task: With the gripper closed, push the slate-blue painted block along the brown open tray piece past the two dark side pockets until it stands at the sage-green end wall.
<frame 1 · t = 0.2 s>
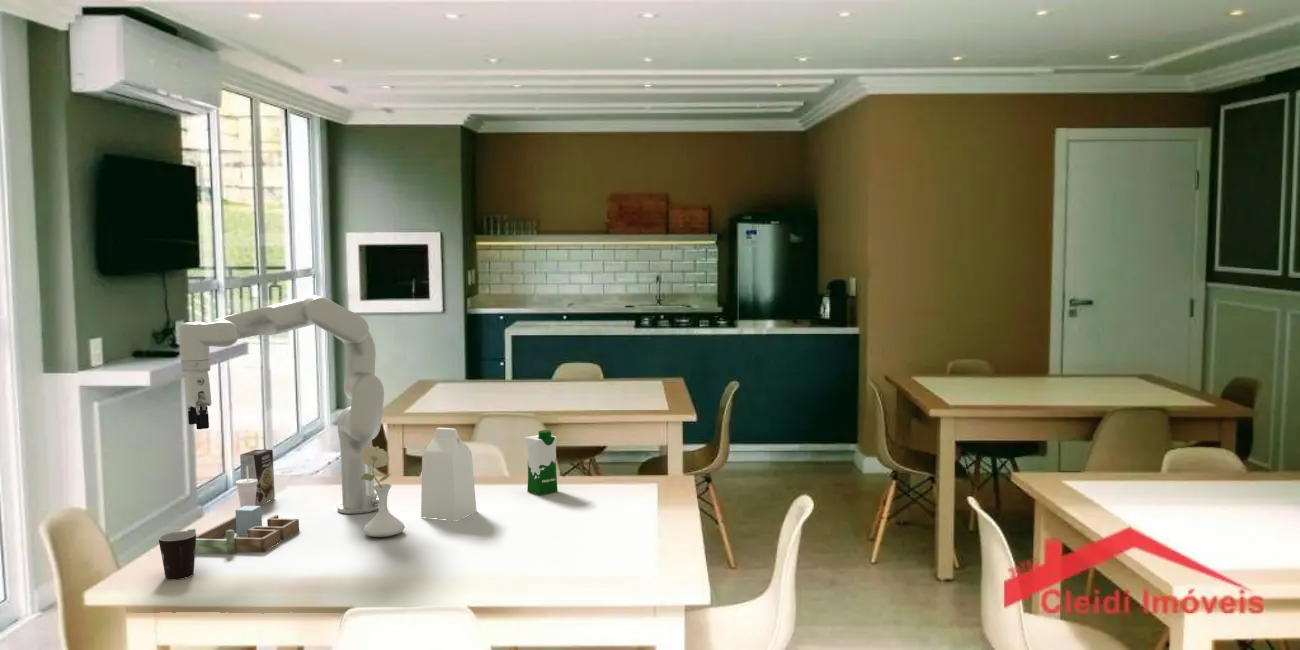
hand: (198, 426, 302), 31 cm above the table, tool pointing down, fingers open, 9 cm apart
brown open tray piece: (236, 539, 297), on the table
milk carton: (542, 492, 346), on the table
block: (249, 532, 304), on the table
coffee mug: (177, 578, 264), on the table
smoothie: (248, 512, 326), on the table
milk: (449, 515, 319), on the table
flower in vase: (381, 535, 299), on the table
coffee box: (258, 502, 339), on the table
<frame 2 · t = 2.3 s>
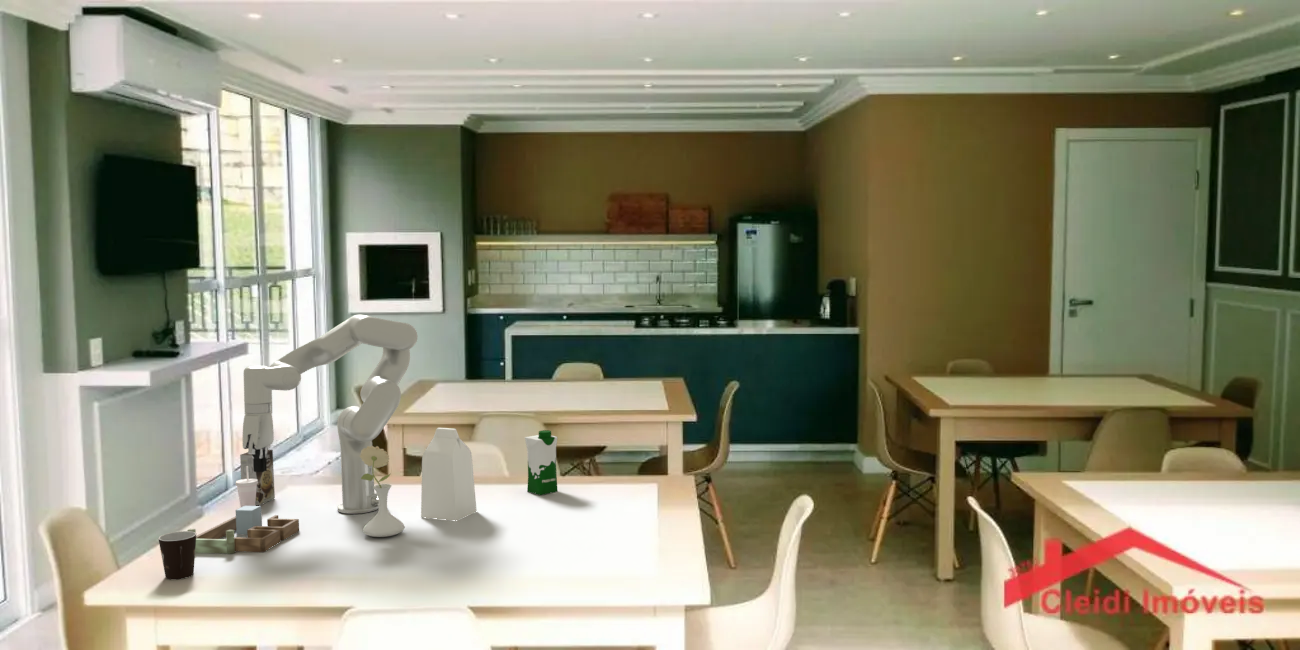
hand: (260, 471, 311), 16 cm above the table, tool pointing down, fingers closed
nothing on the table moved.
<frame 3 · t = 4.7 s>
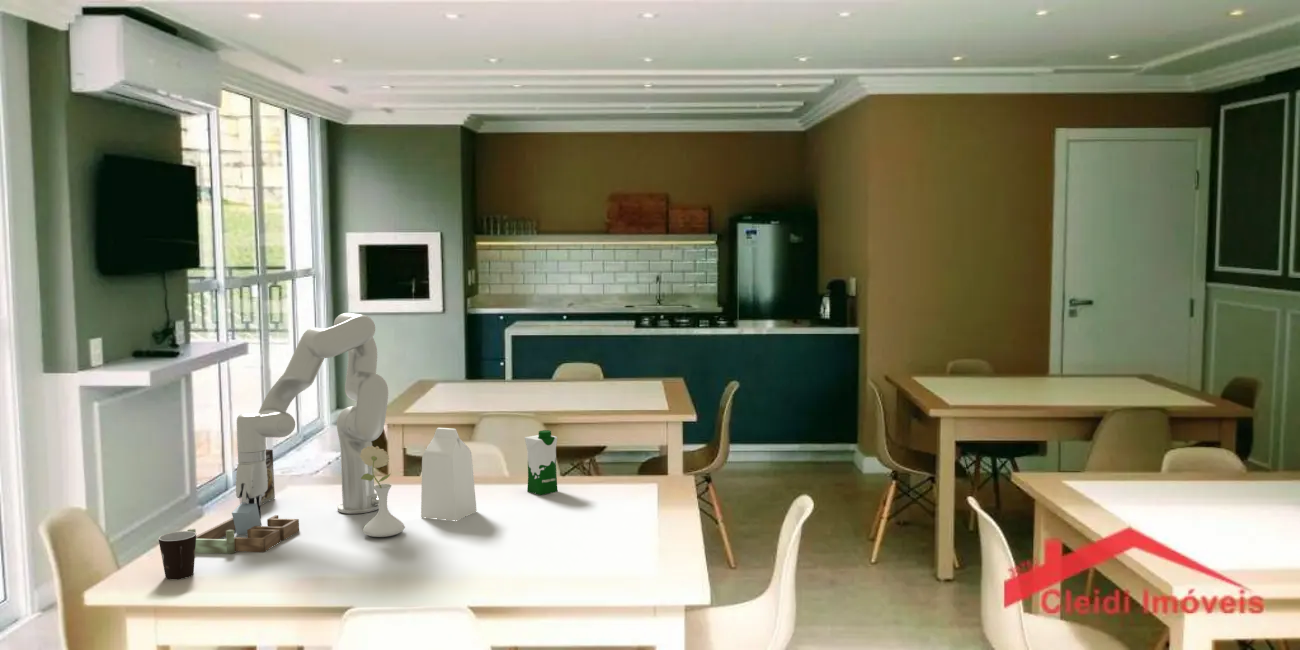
hand: (254, 519, 307), 3 cm above the table, tool pointing down, fingers closed
block: (249, 529, 304), point 1 cm above the table, tilted 17°
everything else where it was.
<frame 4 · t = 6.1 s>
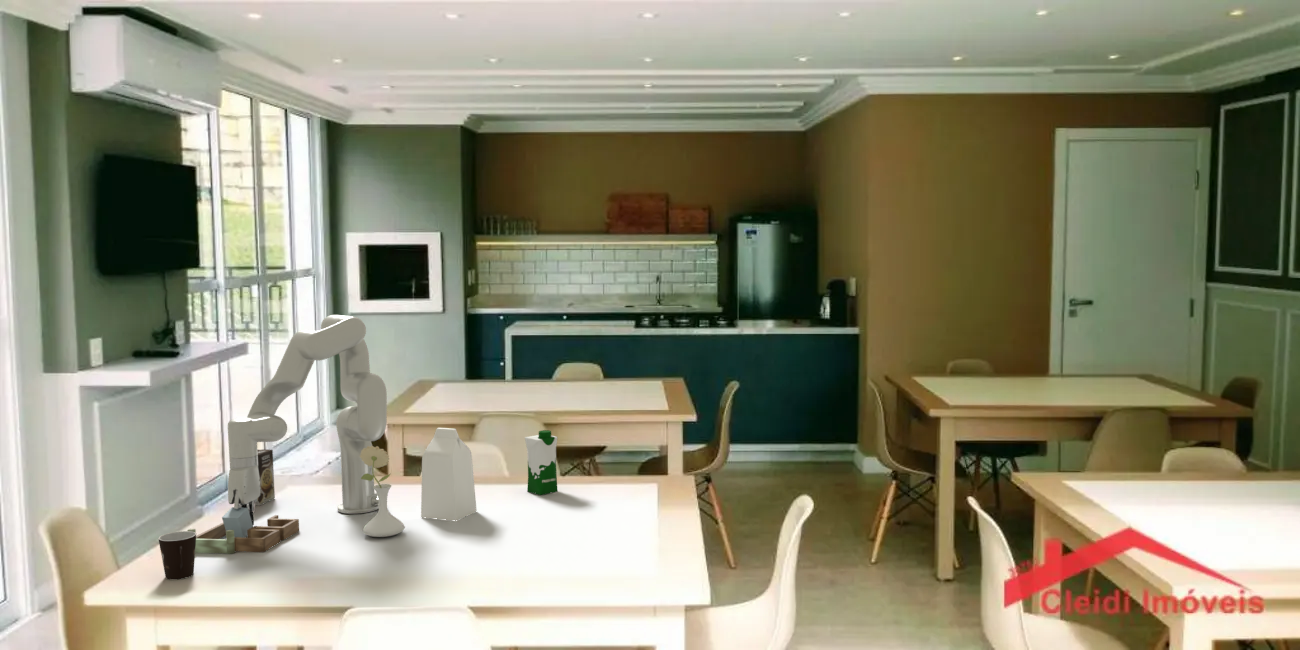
hand: (247, 525, 303), 2 cm above the table, tool pointing down, fingers closed
block: (241, 533, 299), point 1 cm above the table, tilted 20°, touching gripper
everything else where it was.
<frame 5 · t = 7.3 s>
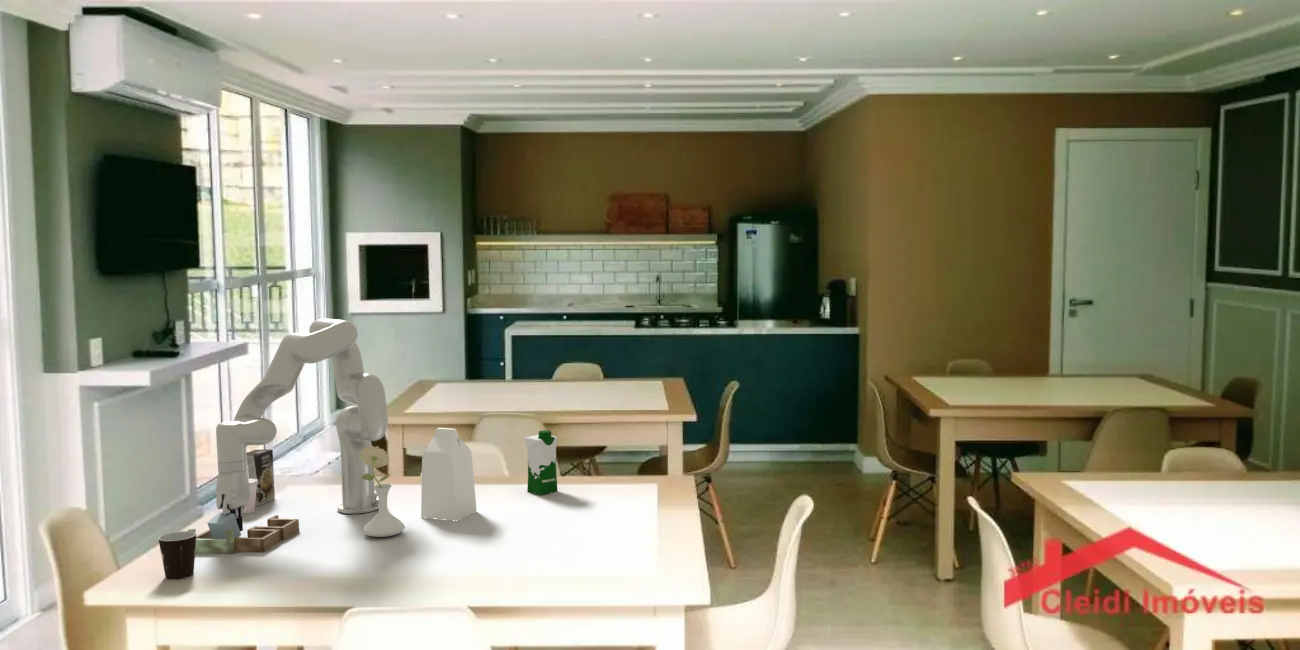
hand: (236, 531, 297), 2 cm above the table, tool pointing down, fingers closed
block: (228, 539, 294), point 1 cm above the table, tilted 20°, touching gripper
everything else where it was.
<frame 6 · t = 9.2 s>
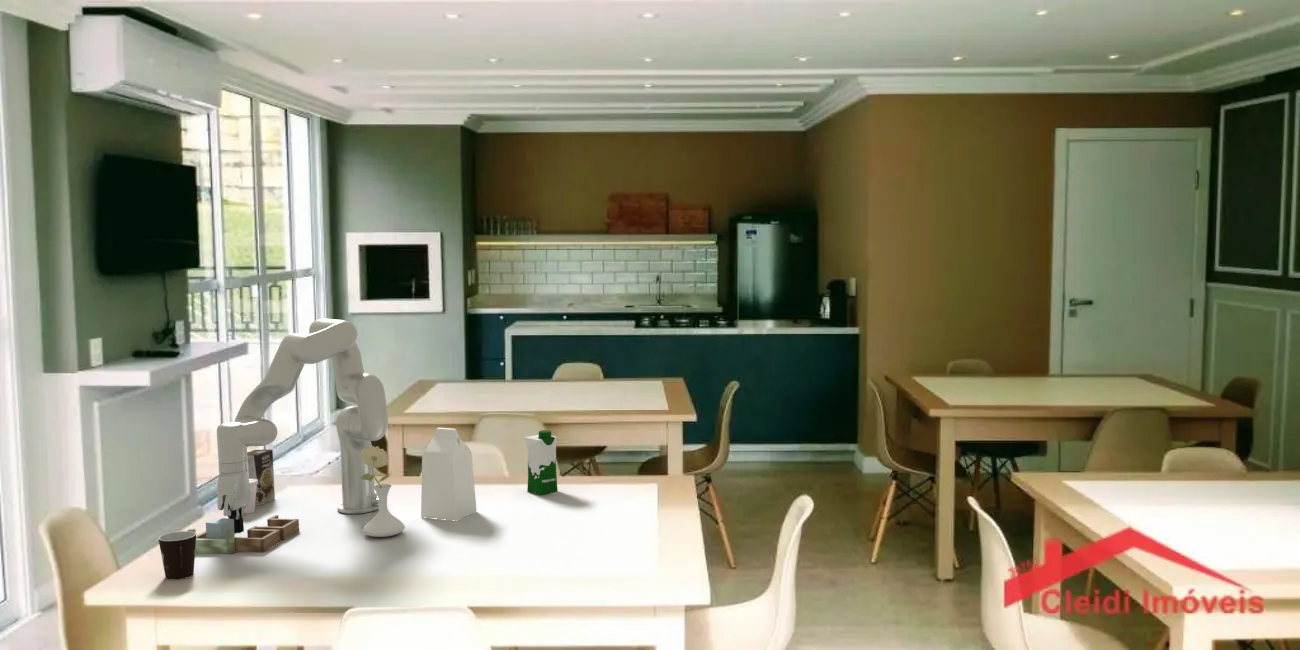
hand: (236, 532, 297), 2 cm above the table, tool pointing down, fingers closed
block: (221, 546, 291), on the table
everything else where it was.
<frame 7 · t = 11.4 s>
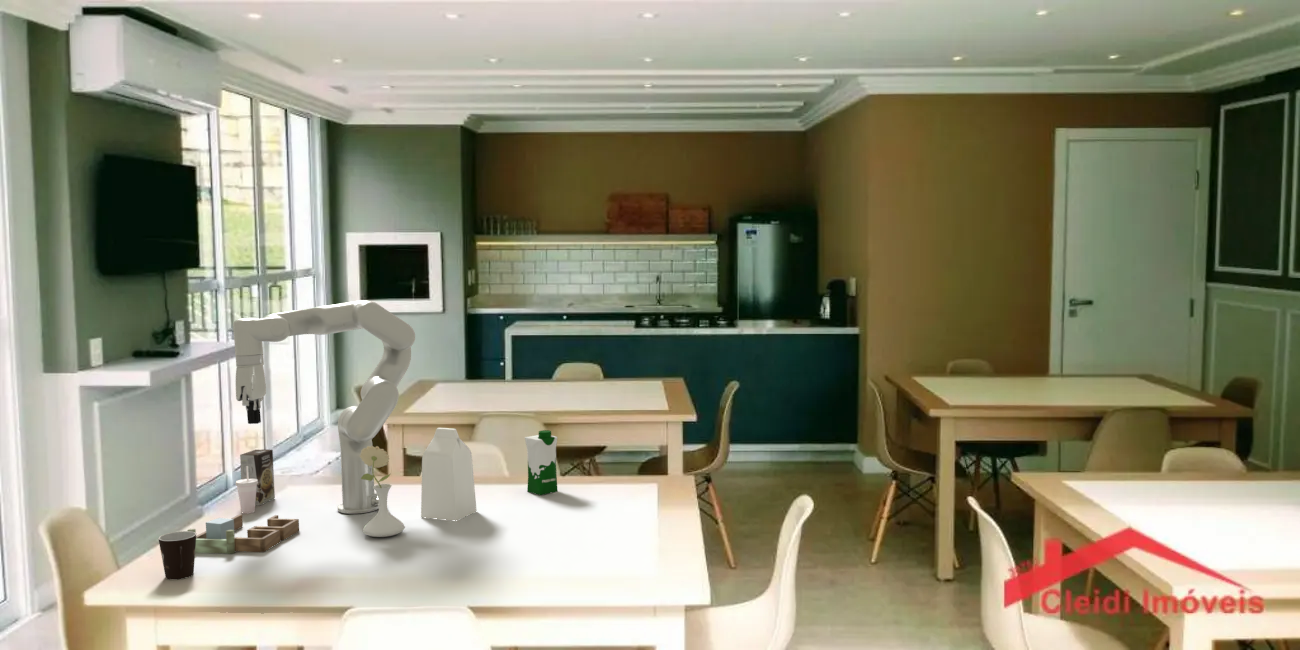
hand: (254, 423, 312), 29 cm above the table, tool pointing down, fingers closed
nothing on the table moved.
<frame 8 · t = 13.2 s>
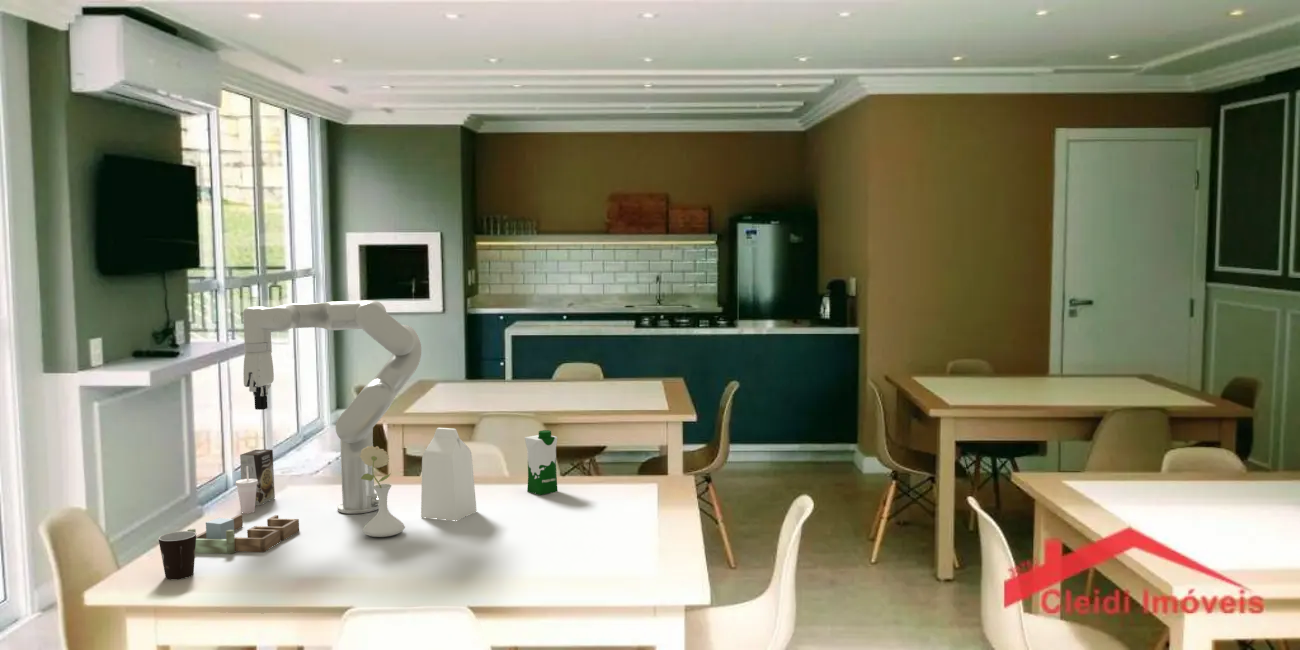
hand: (261, 408, 321), 32 cm above the table, tool pointing down, fingers closed
nothing on the table moved.
at the end: block inside the target area (2.1 cm from its centre), on the table; block tilted 0° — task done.
